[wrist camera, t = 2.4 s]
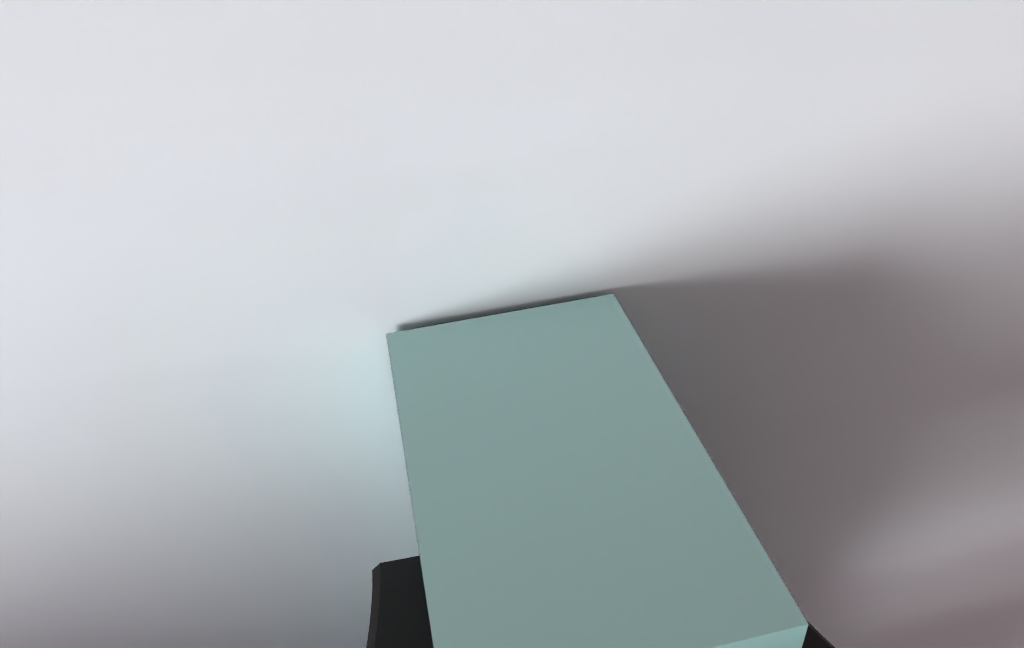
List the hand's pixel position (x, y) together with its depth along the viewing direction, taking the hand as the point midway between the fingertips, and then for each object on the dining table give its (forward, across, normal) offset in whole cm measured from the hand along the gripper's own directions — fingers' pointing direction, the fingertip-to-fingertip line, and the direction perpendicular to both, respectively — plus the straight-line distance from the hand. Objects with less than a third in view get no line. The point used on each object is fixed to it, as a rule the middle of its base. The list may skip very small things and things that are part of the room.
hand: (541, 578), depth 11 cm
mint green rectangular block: (+2, 0, +4) cm, 5 cm away
